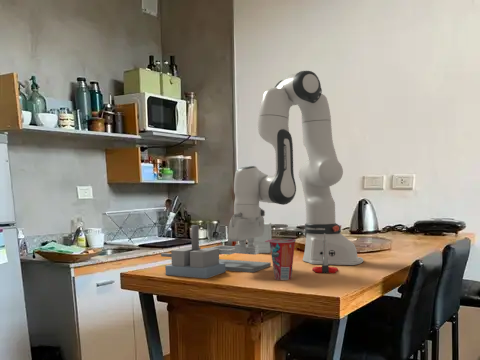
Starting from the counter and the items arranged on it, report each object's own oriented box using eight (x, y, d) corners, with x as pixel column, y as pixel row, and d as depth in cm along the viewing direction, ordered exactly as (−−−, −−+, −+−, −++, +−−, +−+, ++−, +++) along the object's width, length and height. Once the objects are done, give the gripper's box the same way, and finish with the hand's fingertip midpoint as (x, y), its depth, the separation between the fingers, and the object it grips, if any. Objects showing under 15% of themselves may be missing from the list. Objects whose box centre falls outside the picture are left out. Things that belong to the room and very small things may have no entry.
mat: (270, 265, 171) (270, 262, 171) (253, 272, 159) (253, 268, 159) (218, 262, 182) (218, 259, 182) (198, 268, 169) (198, 264, 169)
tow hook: (312, 269, 165) (312, 273, 156) (311, 232, 165) (311, 233, 156) (337, 270, 163) (338, 273, 154) (336, 232, 164) (337, 233, 155)
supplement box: (272, 251, 210) (271, 222, 210) (269, 253, 202) (269, 223, 203) (256, 250, 211) (255, 222, 212) (252, 253, 204) (252, 223, 204)
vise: (225, 272, 160) (224, 224, 161) (206, 278, 150) (205, 227, 150) (172, 267, 171) (171, 223, 171) (151, 273, 160) (150, 226, 160)
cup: (280, 274, 154) (280, 237, 154) (302, 278, 148) (301, 239, 148) (261, 279, 147) (261, 240, 147) (283, 282, 141) (282, 242, 141)
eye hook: (205, 252, 169) (205, 244, 169) (219, 249, 178) (219, 241, 178) (250, 256, 160) (250, 247, 160) (263, 252, 169) (263, 243, 169)
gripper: (240, 214, 156) (240, 256, 156) (267, 211, 174) (267, 249, 174) (223, 213, 159) (224, 255, 159) (251, 210, 177) (251, 248, 177)
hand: (246, 251), depth 166 cm, fingers closed on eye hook, 2 cm apart
